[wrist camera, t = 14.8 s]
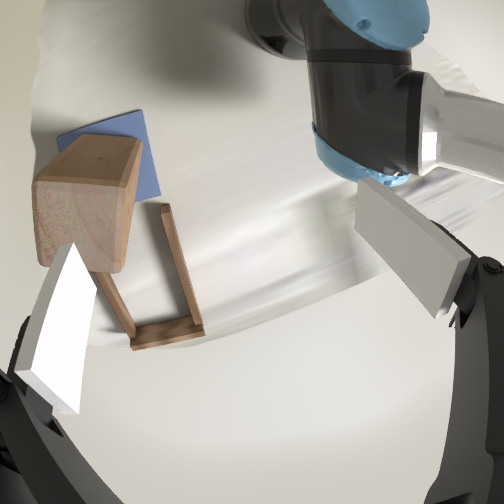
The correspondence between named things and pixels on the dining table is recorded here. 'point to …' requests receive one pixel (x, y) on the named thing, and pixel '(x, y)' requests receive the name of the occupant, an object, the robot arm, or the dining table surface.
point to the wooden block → (88, 201)
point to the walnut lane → (164, 330)
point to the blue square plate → (124, 127)
